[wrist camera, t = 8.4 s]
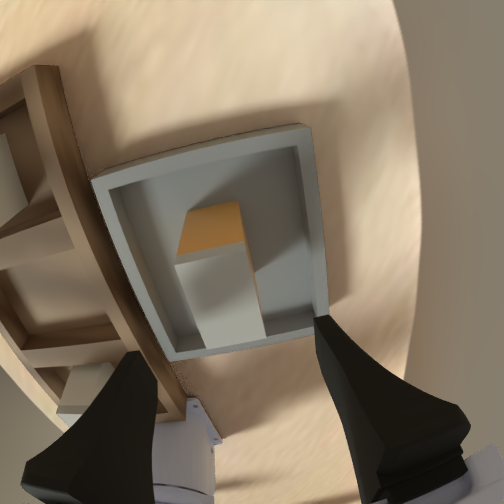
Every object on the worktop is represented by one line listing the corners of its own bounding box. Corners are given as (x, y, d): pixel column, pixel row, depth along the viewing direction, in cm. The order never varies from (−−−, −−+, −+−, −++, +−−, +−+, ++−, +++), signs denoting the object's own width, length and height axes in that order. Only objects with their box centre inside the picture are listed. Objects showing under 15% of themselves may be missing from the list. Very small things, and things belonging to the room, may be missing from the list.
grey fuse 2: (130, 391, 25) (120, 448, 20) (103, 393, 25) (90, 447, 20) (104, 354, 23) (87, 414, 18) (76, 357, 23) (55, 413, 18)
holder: (186, 396, 27) (185, 420, 25) (81, 403, 27) (75, 424, 25) (58, 65, 14) (34, 64, 11) (-58, 140, 14) (-81, 150, 11)
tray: (322, 311, 24) (330, 330, 22) (171, 340, 24) (169, 361, 22) (300, 122, 17) (310, 127, 15) (103, 169, 17) (90, 180, 15)
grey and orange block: (254, 272, 21) (266, 338, 15) (208, 282, 21) (206, 349, 15) (238, 199, 18) (245, 249, 13) (186, 211, 18) (174, 265, 13)
